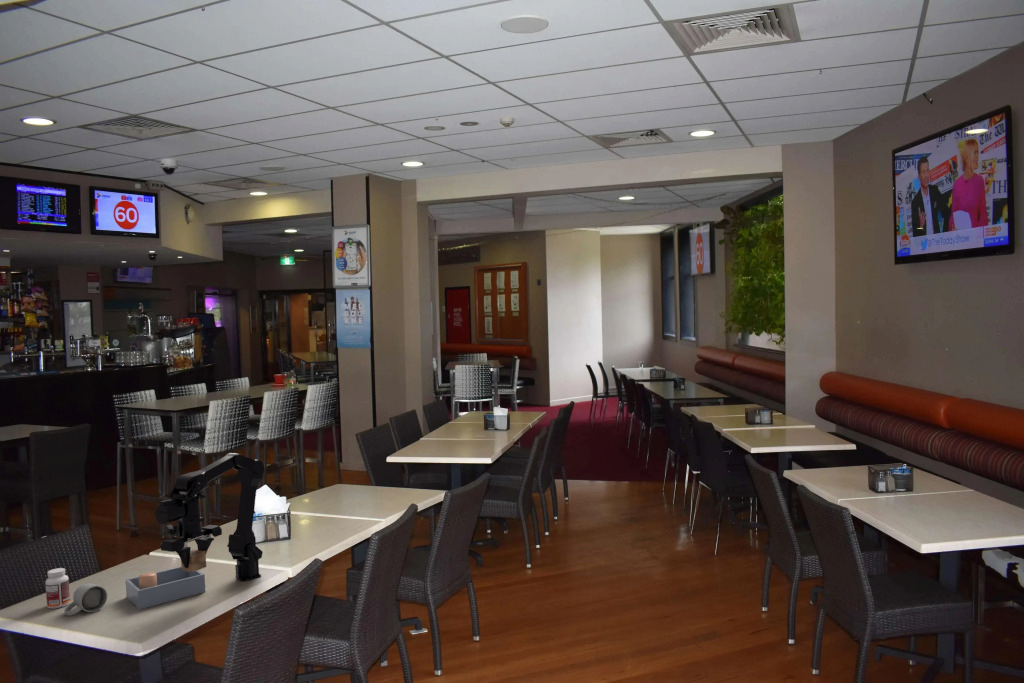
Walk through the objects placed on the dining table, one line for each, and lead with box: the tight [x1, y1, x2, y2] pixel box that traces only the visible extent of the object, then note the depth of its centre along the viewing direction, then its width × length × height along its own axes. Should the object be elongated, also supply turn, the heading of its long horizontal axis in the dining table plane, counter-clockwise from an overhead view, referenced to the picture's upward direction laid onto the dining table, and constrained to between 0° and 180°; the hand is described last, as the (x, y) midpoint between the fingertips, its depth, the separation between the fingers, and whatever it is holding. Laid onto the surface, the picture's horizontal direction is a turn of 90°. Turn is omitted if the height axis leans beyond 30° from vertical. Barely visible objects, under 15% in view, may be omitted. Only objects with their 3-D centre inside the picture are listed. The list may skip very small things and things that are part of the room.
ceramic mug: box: [64, 583, 108, 617], centre depth 223 cm, size 11×8×8 cm
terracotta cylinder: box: [138, 571, 157, 590], centre depth 230 cm, size 5×5×7 cm
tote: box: [125, 566, 206, 610], centre depth 234 cm, size 20×15×6 cm
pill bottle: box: [44, 567, 71, 610], centre depth 228 cm, size 6×6×11 cm
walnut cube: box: [180, 549, 207, 572], centre depth 228 cm, size 5×5×5 cm
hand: (193, 565), depth 228 cm, fingers closed on walnut cube, 5 cm apart
